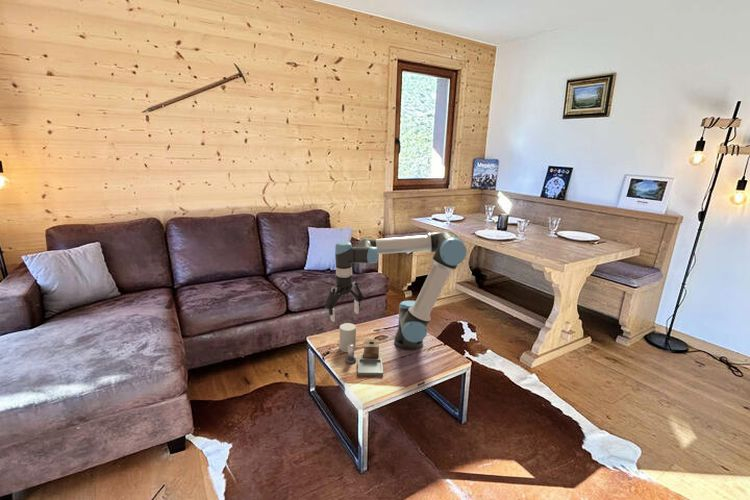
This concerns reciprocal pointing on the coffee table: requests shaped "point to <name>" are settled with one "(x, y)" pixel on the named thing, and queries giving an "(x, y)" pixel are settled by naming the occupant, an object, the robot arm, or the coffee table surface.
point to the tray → (370, 367)
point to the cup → (347, 336)
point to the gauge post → (350, 354)
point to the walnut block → (371, 349)
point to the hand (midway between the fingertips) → (344, 316)
